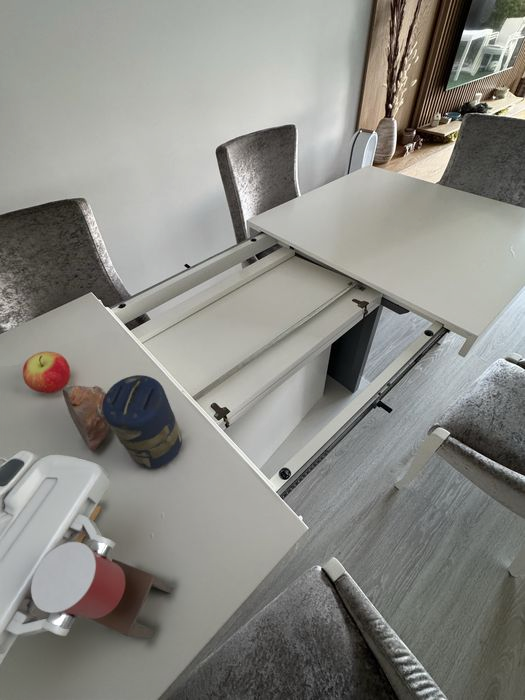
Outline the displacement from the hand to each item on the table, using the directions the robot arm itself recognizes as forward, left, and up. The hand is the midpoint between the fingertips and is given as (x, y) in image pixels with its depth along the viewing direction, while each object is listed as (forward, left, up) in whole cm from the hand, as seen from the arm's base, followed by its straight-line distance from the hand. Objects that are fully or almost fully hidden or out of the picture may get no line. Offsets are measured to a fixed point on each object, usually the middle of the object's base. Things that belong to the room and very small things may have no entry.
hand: (90, 585), depth 33 cm
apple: (+28, +39, -22) cm, 53 cm away
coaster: (+6, +18, -22) cm, 29 cm away
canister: (+22, +11, -22) cm, 33 cm away
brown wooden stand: (0, +1, -22) cm, 22 cm away
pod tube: (0, +1, -5) cm, 5 cm away
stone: (+23, +24, -22) cm, 40 cm away
